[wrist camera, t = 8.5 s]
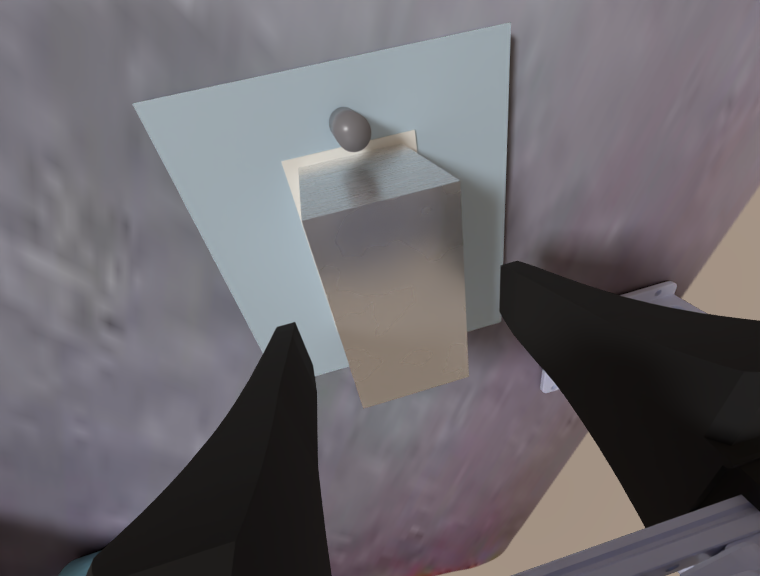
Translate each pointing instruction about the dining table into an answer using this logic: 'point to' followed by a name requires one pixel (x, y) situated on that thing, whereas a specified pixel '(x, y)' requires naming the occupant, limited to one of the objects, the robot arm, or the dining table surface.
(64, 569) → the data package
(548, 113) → the dining table surface
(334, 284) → the brushed metal pillar
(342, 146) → the pegged base plate
